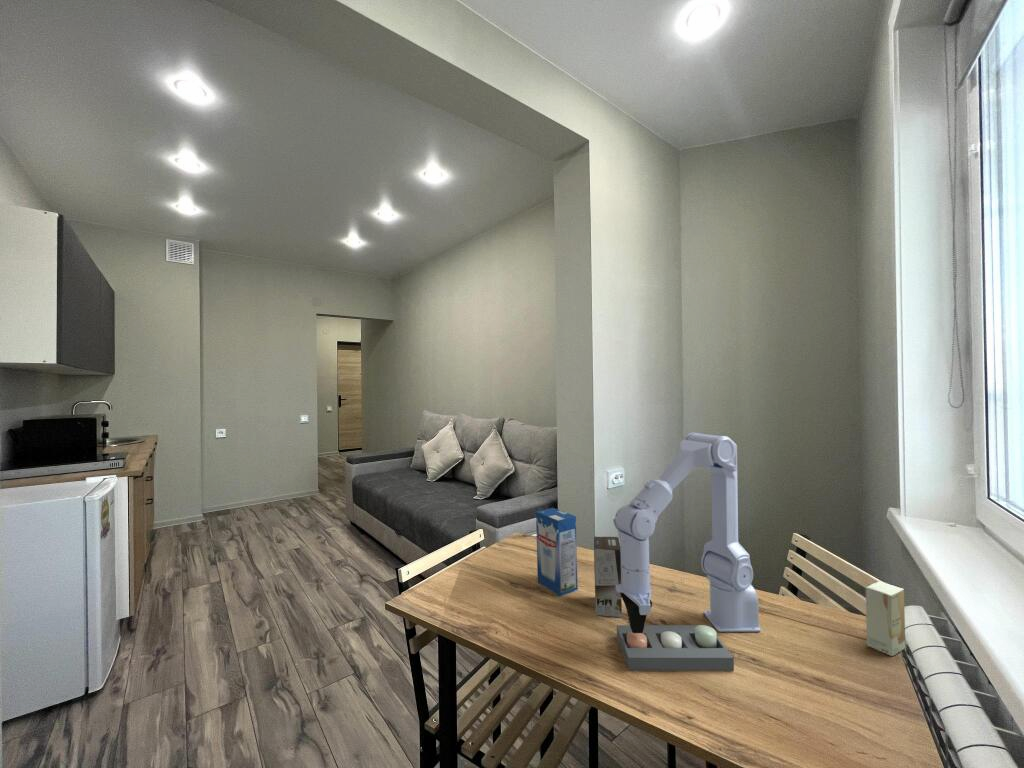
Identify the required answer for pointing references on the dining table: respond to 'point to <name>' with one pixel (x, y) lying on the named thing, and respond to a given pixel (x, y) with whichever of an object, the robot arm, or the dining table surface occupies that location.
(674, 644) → the white rounded piece
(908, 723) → the dining table surface
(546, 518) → the milk carton
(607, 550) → the coffee box
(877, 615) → the skincare box
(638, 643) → the terracotta button
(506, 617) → the dining table surface
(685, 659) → the button panel
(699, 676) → the dining table surface
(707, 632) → the pale green egg
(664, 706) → the dining table surface
